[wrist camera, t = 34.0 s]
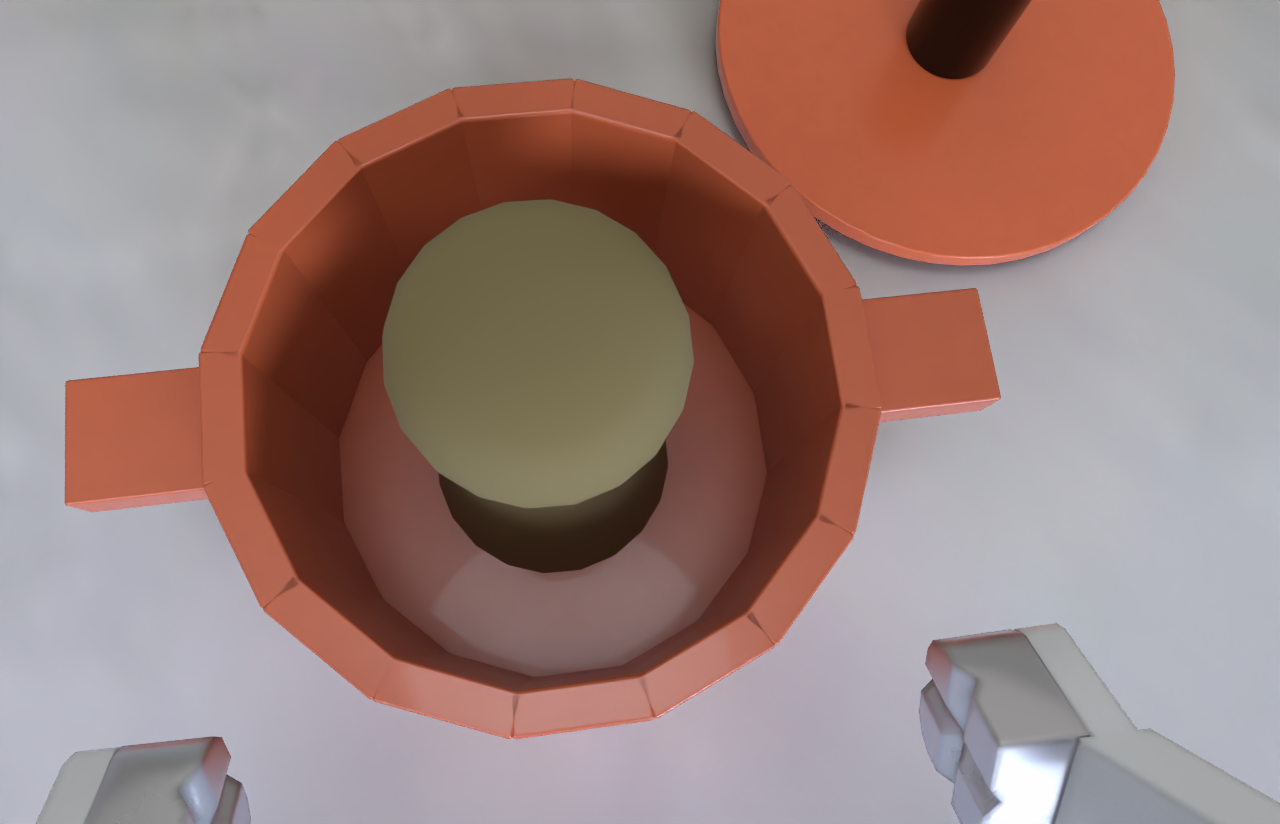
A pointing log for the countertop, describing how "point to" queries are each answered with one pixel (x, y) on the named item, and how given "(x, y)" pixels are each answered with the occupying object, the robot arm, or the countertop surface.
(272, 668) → the countertop surface
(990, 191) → the pot lid
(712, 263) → the pot
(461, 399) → the cork
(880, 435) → the countertop surface
